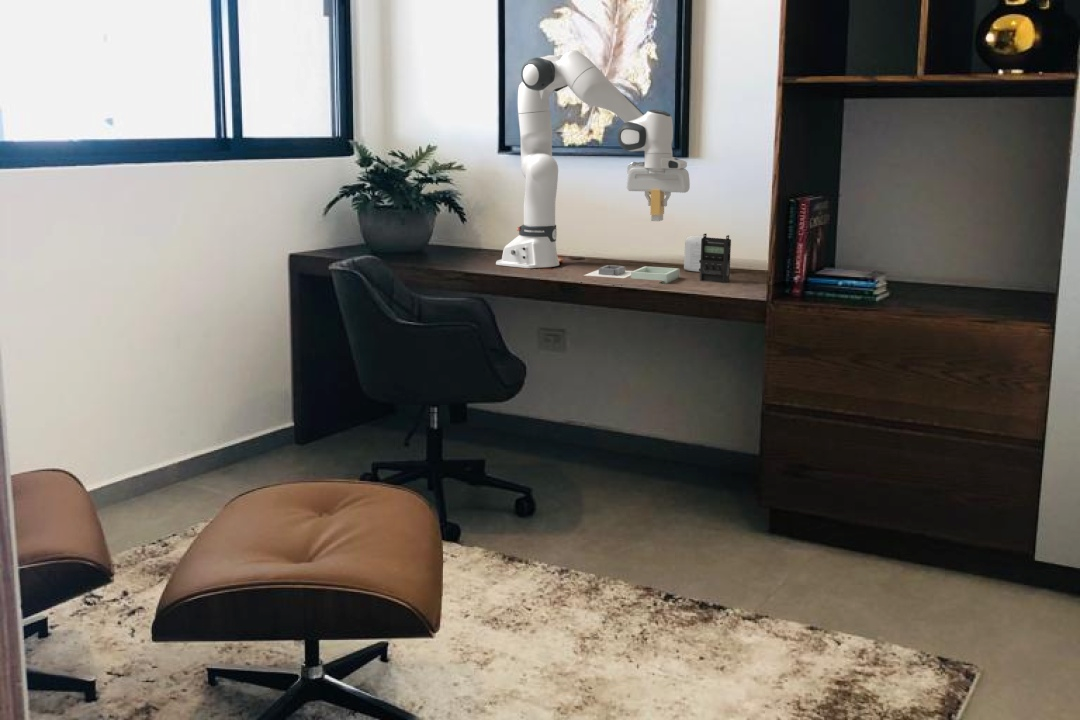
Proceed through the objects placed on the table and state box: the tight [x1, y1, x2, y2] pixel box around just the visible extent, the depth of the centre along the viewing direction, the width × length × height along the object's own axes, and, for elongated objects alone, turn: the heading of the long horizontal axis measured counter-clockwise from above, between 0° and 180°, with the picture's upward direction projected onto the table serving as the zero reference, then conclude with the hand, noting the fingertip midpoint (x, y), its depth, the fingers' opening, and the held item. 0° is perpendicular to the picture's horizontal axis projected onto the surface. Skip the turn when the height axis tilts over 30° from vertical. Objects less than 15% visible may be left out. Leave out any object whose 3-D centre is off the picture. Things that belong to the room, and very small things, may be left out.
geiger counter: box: [699, 233, 732, 284], centre depth 356 cm, size 10×4×15 cm, turn 56°
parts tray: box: [630, 265, 680, 285], centre depth 360 cm, size 12×14×3 cm
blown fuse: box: [650, 190, 666, 222], centre depth 355 cm, size 3×5×10 cm, turn 156°
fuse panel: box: [583, 264, 633, 279], centre depth 366 cm, size 14×16×3 cm
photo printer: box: [683, 234, 711, 273], centre depth 376 cm, size 10×4×12 cm, turn 56°
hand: (657, 206), depth 355 cm, fingers closed on blown fuse, 3 cm apart
